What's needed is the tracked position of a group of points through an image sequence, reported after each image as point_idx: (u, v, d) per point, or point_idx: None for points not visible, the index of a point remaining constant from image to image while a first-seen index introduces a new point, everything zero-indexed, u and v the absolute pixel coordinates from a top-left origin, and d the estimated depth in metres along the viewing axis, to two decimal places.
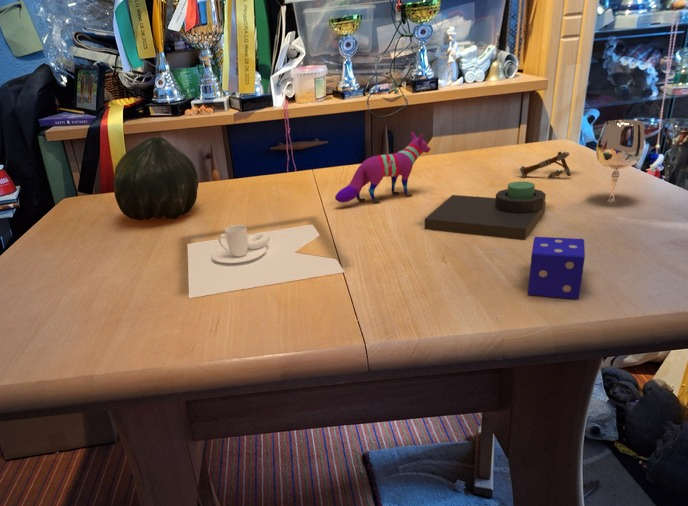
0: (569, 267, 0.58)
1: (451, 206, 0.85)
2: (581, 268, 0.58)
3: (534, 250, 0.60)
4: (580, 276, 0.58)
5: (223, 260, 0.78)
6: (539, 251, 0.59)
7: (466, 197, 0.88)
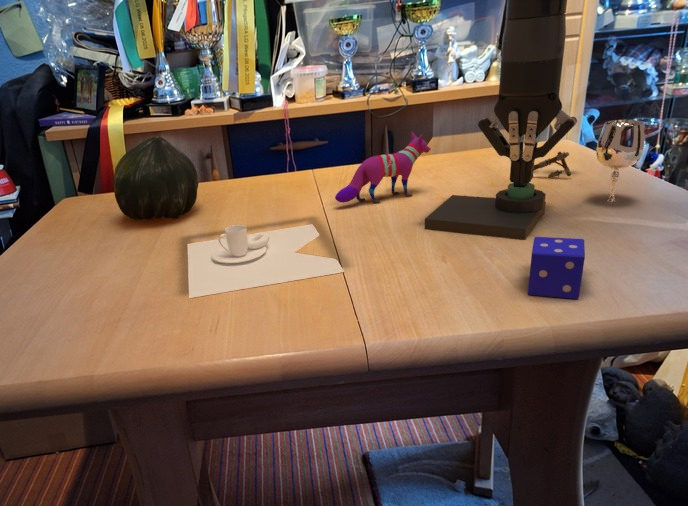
0: (569, 267, 0.58)
1: (451, 206, 0.85)
2: (581, 268, 0.58)
3: (534, 249, 0.60)
4: (580, 276, 0.58)
5: (223, 260, 0.78)
6: (539, 251, 0.59)
7: (466, 197, 0.88)
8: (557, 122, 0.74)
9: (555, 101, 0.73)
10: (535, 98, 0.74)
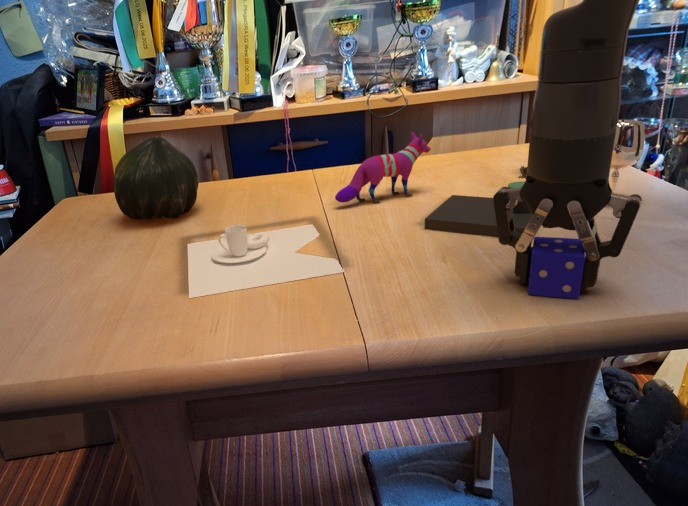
0: (569, 267, 0.58)
1: (451, 206, 0.85)
2: (581, 268, 0.58)
3: (534, 250, 0.60)
4: (580, 276, 0.58)
5: (223, 260, 0.78)
6: (539, 251, 0.59)
7: (466, 197, 0.88)
8: (615, 209, 0.55)
9: (604, 189, 0.54)
10: (577, 183, 0.55)
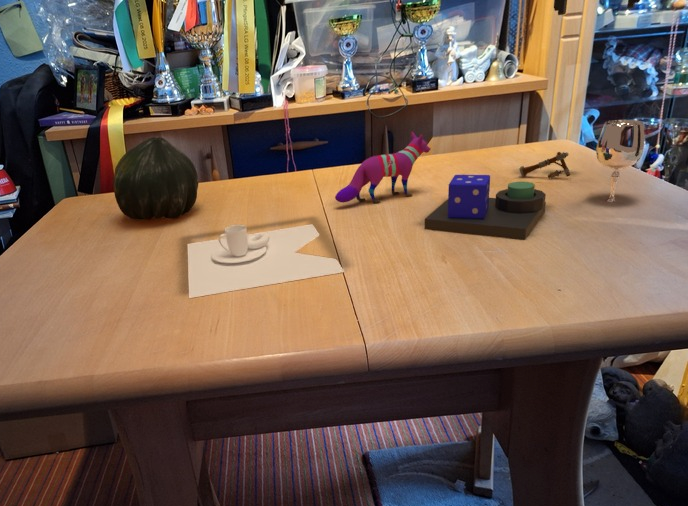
0: (475, 193, 0.77)
1: None
2: (484, 194, 0.77)
3: (450, 182, 0.79)
4: (483, 200, 0.77)
5: (223, 260, 0.78)
6: (454, 183, 0.78)
7: None
8: None
9: None
10: None
